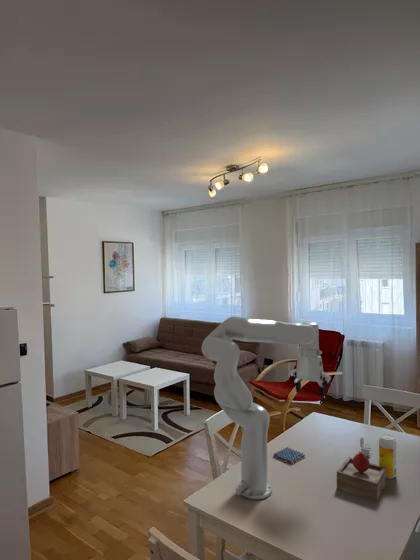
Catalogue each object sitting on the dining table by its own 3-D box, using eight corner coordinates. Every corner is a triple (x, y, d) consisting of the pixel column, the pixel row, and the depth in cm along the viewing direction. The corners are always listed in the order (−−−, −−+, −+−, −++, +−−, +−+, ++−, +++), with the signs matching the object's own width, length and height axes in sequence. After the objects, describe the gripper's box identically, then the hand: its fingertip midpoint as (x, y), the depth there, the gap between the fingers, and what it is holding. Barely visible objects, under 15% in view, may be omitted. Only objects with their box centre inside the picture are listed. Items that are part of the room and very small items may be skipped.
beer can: (381, 469, 154) (381, 432, 154) (398, 474, 150) (397, 436, 150) (377, 475, 149) (377, 437, 149) (394, 480, 145) (393, 441, 145)
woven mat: (271, 458, 166) (271, 453, 166) (286, 450, 173) (286, 446, 173) (291, 466, 158) (291, 462, 158) (306, 458, 165) (306, 454, 165)
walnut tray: (376, 501, 132) (376, 483, 132) (336, 488, 141) (336, 471, 141) (386, 483, 144) (386, 467, 143) (348, 472, 152) (348, 457, 152)
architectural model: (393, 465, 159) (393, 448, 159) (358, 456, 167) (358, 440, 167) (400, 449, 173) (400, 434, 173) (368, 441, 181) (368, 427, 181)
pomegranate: (365, 468, 145) (365, 447, 145) (372, 476, 139) (372, 454, 139) (350, 468, 145) (350, 448, 145) (356, 476, 139) (356, 455, 139)
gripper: (333, 353, 154) (333, 395, 154) (293, 348, 164) (293, 388, 164) (326, 356, 148) (327, 400, 148) (285, 351, 158) (286, 392, 158)
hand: (309, 394), depth 156 cm, fingers open, 9 cm apart
